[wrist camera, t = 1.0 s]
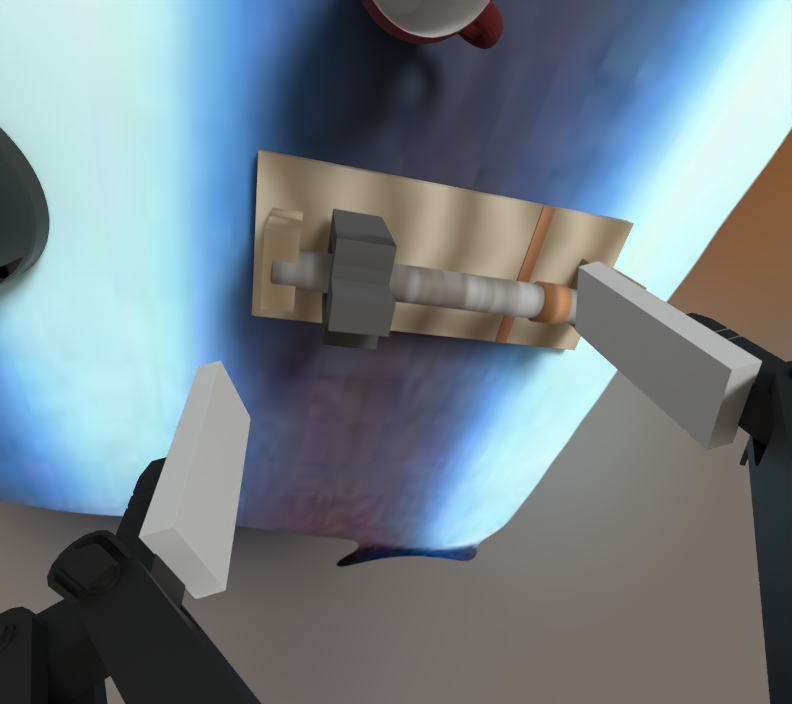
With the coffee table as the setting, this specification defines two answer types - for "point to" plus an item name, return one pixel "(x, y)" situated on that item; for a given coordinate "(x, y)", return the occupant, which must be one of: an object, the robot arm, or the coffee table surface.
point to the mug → (438, 20)
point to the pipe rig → (429, 252)
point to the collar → (358, 281)
